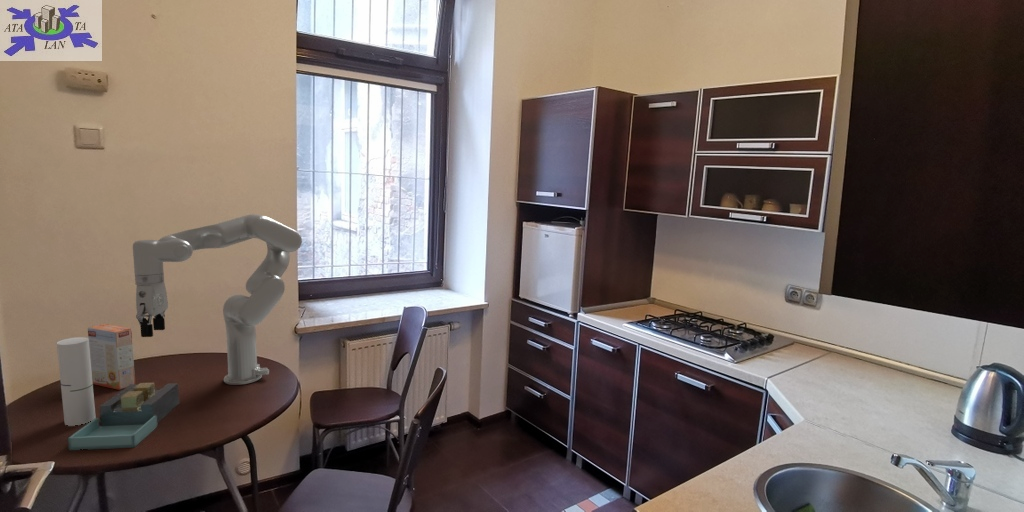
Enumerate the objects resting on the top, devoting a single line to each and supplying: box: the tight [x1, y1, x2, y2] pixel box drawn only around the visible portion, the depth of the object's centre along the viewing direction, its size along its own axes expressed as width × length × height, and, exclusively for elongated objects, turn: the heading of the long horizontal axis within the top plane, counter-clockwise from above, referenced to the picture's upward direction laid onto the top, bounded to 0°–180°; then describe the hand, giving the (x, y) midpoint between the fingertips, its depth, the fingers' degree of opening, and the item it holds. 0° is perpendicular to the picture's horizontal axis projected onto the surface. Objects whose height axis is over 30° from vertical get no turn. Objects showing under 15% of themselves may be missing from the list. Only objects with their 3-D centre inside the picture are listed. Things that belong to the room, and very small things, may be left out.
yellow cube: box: [121, 391, 144, 410], centre depth 153 cm, size 4×4×4 cm
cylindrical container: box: [56, 336, 97, 427], centre depth 152 cm, size 7×7×25 cm
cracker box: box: [87, 323, 136, 391], centre depth 178 cm, size 14×6×21 cm, turn 71°
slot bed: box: [99, 382, 180, 426], centre depth 157 cm, size 14×16×7 cm
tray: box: [67, 416, 158, 451], centre depth 144 cm, size 16×12×4 cm
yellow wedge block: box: [133, 382, 156, 400], centre depth 159 cm, size 4×4×4 cm
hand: (153, 332), depth 164 cm, fingers open, 6 cm apart
